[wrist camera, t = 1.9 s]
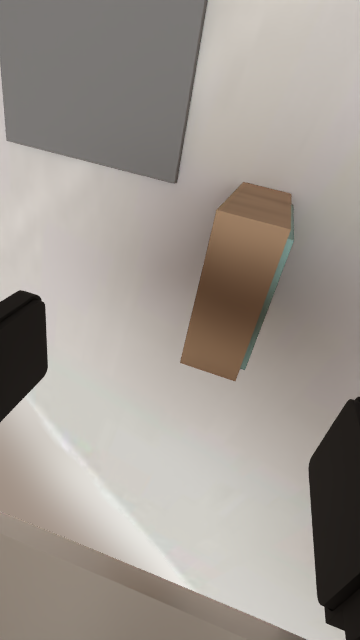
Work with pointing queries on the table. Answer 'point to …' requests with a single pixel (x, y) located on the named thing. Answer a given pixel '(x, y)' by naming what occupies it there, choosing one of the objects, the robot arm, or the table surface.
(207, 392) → the table surface
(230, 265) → the wooden block teal panel
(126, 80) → the mat
